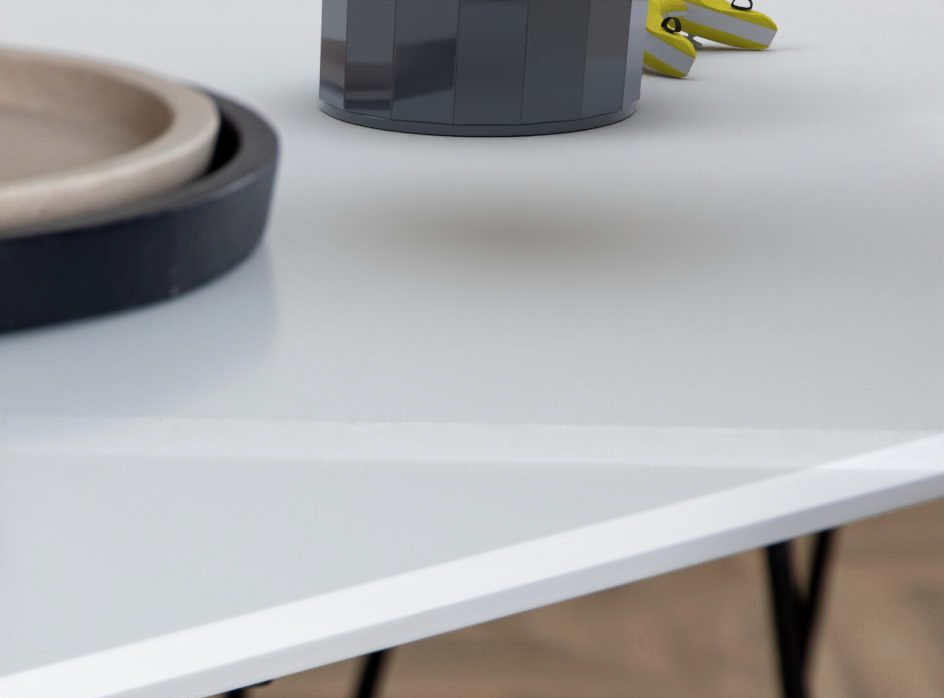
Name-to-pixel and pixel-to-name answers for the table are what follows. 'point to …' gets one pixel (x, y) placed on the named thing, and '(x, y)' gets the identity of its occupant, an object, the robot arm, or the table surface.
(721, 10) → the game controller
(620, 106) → the tin
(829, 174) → the table surface
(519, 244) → the table surface
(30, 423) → the table surface
